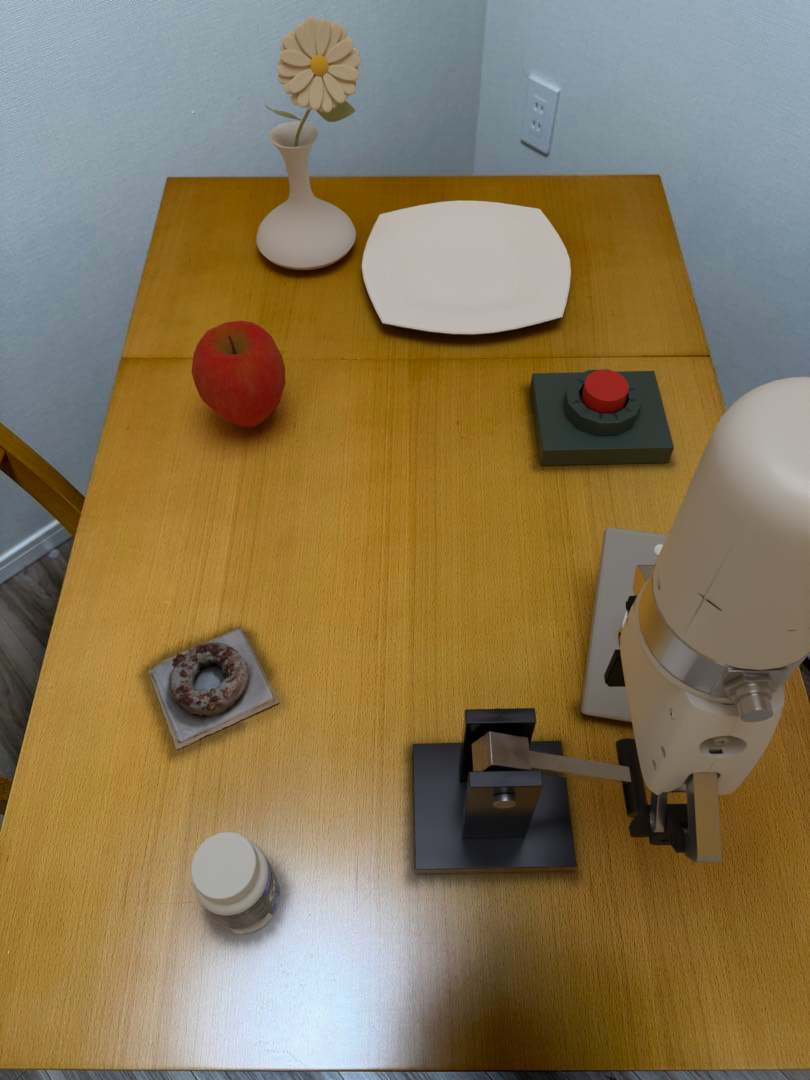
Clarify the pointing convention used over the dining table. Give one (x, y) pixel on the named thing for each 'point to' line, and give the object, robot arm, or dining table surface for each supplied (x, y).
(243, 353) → the apple
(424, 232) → the plate
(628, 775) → the switch lever
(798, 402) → the robot arm
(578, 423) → the block
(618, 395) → the stop button
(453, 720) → the dining table surface
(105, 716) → the dining table surface
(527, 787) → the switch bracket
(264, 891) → the pill bottle
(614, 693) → the light switch
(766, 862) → the dining table surface
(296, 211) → the flower in vase
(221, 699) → the donut
